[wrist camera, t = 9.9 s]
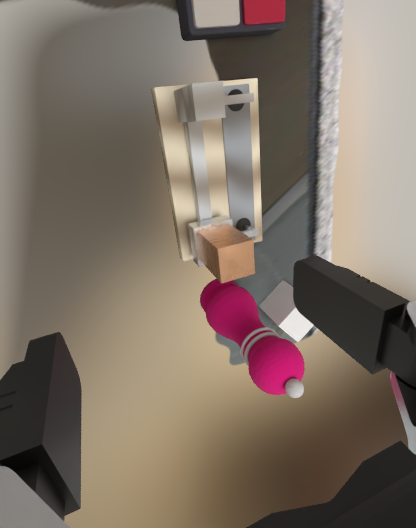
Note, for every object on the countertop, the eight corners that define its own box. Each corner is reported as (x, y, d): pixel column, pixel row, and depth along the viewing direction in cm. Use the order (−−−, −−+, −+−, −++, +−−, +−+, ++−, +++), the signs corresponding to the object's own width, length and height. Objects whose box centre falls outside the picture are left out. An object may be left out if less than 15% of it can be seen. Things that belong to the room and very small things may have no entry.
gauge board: (151, 89, 31) (168, 78, 25) (251, 79, 35) (288, 68, 28) (180, 257, 40) (198, 281, 34) (257, 237, 44) (286, 255, 37)
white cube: (258, 305, 49) (278, 326, 44) (282, 279, 49) (305, 296, 44) (277, 321, 52) (298, 342, 47) (300, 297, 52) (323, 315, 47)
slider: (187, 222, 36) (212, 245, 29) (249, 208, 38) (286, 226, 31) (192, 259, 38) (217, 289, 31) (250, 244, 40) (286, 268, 33)
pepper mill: (212, 324, 47) (284, 433, 30) (187, 295, 43) (255, 402, 26) (247, 295, 47) (338, 388, 30) (226, 265, 44) (317, 351, 27)
